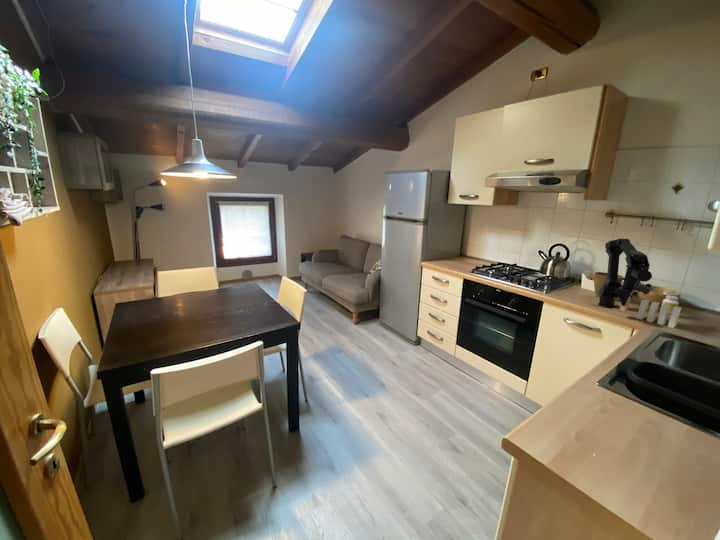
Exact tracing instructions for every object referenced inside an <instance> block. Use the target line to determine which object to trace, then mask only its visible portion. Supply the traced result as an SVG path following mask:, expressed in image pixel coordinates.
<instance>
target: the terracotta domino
mask: <svg viewBox="0 0 720 540" xmlns="http://www.w3.org/2000/svg"><path fill="white" fill-rule="evenodd" d="M630 299H631V297H629V298H628V300H627V302H626V304H625V306H622V304H621V305H620V307H619V311H621V312H624V313H625V312H627V311H629V307H630V303H631V301H630ZM631 300H632V299H631Z"/></svg>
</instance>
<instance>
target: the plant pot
mask: <svg viewBox="0 0 720 540" xmlns="http://www.w3.org/2000/svg"><path fill="white" fill-rule="evenodd" d="M623 278H625V276H623V275H620V274H618V282H619V283H621V284H623V283H622V282H624V280H623ZM606 280H607V272H605V271H595V272H593V285H594V286H593V287H594V294H595V297H596V298H597V297H599V298H598V299H600V296H601V295H599V294H598V291H599V290H600V288H601V287H602V286H603V283H604V282H605V281H606Z"/></svg>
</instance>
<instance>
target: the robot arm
mask: <svg viewBox="0 0 720 540" xmlns="http://www.w3.org/2000/svg"><path fill="white" fill-rule="evenodd" d="M604 248H605V253H606V254H607V255H608V262H607V272H606V273H607V280H606V281H605V282H604V283H603V286H602V287H601V288H600V290H599V291H598V294H599V295H601V296H600V298H599V300H598V303H597V305H598V304H599V305H598V306H601V305H602V307H605V308H609V309H610V308H613V307H615V305H616V301H617V300H616V299H617V298H619V301H620V303H621V304H622V306H625V304H626V302H627V300H628V298H629V297H631V299H630V302H631V301H632V299H633V297H634V296H635V295H636V296H637V294H639V293H640V292H641V293H642V294H644V295H649V293H650V292H651V291H653V287H652V284H651V283H647V284H644V282H648V281H650V280H651V279H652V277H653V275H652V272H651V271H649V270H650V266H651V265H650V261H649V258H648V256H647V254H645V253H644V252H641V251H639V250H638V249H636V247H635V246H634V245H633V244H632V242H631V240H630V239H628V238H617V239H613V240H609V241H607V242H605V246H604ZM623 253H624V254H625V256H626V257H625V262H626V263H627V264H626V265H625V267H626V270H625V275H624V278H623V281H622V282H623V283H619V282H618V275H619V265H620V256H621V255H622V254H623Z"/></svg>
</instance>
